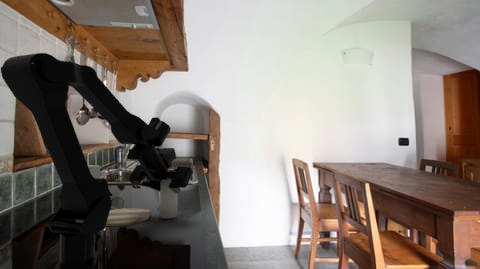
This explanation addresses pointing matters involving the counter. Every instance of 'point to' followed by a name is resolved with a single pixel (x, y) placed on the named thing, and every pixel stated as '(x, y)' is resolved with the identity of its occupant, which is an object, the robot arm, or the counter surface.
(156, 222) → the counter surface
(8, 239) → the counter surface
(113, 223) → the wooden board
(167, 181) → the translucent tall glass
